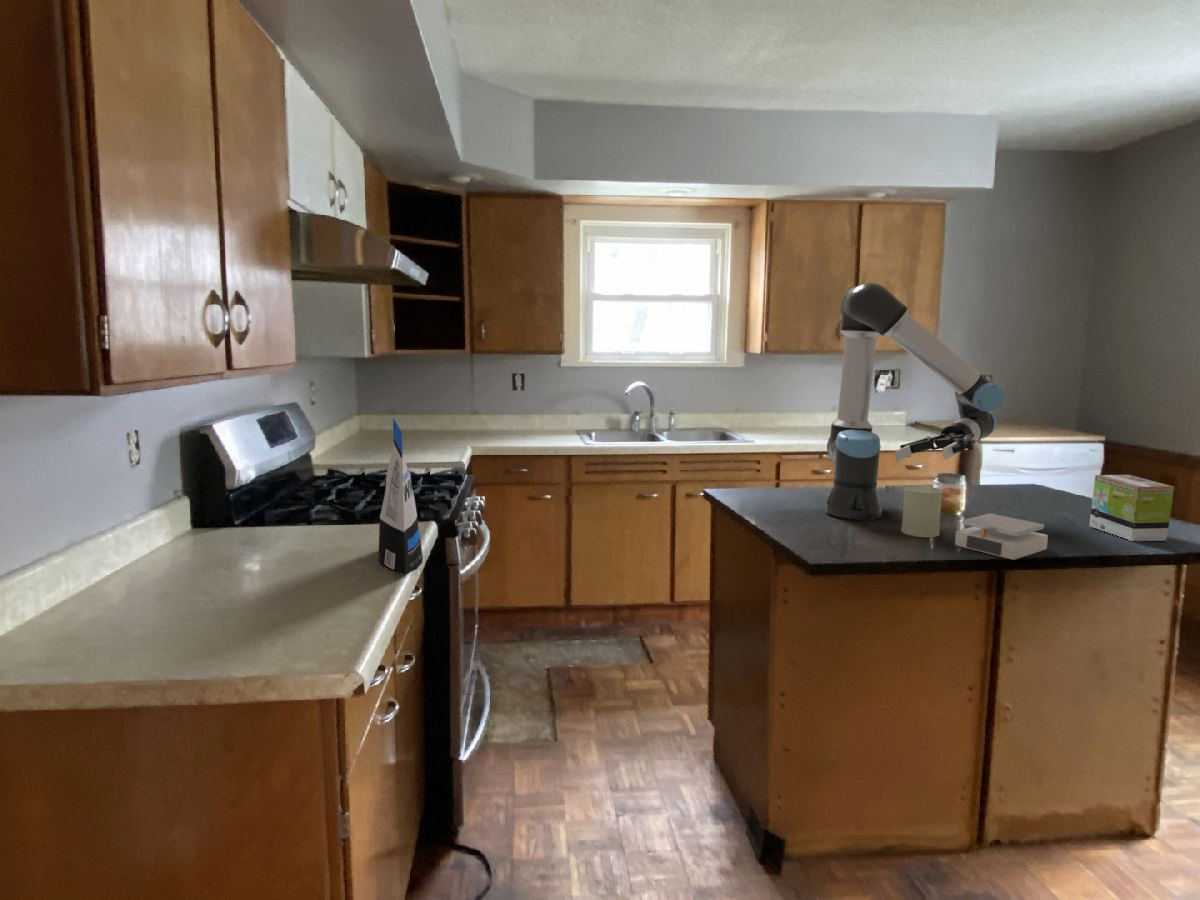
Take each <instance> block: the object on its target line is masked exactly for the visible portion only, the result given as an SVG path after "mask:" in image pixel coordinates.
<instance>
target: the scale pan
mask: <svg viewBox="0 0 1200 900" xmlns="http://www.w3.org/2000/svg"><path fill="white" fill-rule="evenodd" d="M961 524H962V525H964V526H965V525H966V526H969V527H978V528H981V534H980V538H985V535H986V531H990V530H991V531H995V532H1000V533H1004V534H1009V535H1013V536H1020V535H1024V534H1027V533H1030V532H1037V531H1040V530H1044V529H1045V524H1043V523H1039V522H1035V521H1029V520H1024V519H1019V518H1014V517H1009V516H1005V515H999V514H996V513H985V514H981V515H977V516H972V517H968V518H965V519H962V523H961Z"/></svg>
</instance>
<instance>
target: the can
mask: <svg viewBox="0 0 1200 900" xmlns="http://www.w3.org/2000/svg"><path fill="white" fill-rule="evenodd" d="M903 487H904V488H903V505H902V518H901V519H902V522H901V529H900V532H901V533H902V532H903V533H902V534H904V533H905V534H904V535H906V536H910V535H911V536H910V537H915V538H936V537H939V536H940V534H941V533H940V527H941V526H940V523H941V521H940V520H941V510H942V498H943V490H942V489H940V488H939V487H933V486H926V485H925V486H923V485H908V486H903Z"/></svg>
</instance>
